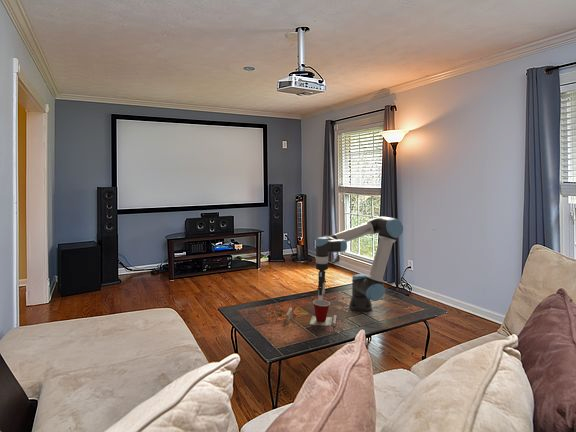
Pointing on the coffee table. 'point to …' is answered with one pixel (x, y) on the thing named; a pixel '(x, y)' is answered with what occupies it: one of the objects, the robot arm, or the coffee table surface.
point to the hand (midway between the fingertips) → (321, 296)
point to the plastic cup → (321, 309)
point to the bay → (314, 319)
